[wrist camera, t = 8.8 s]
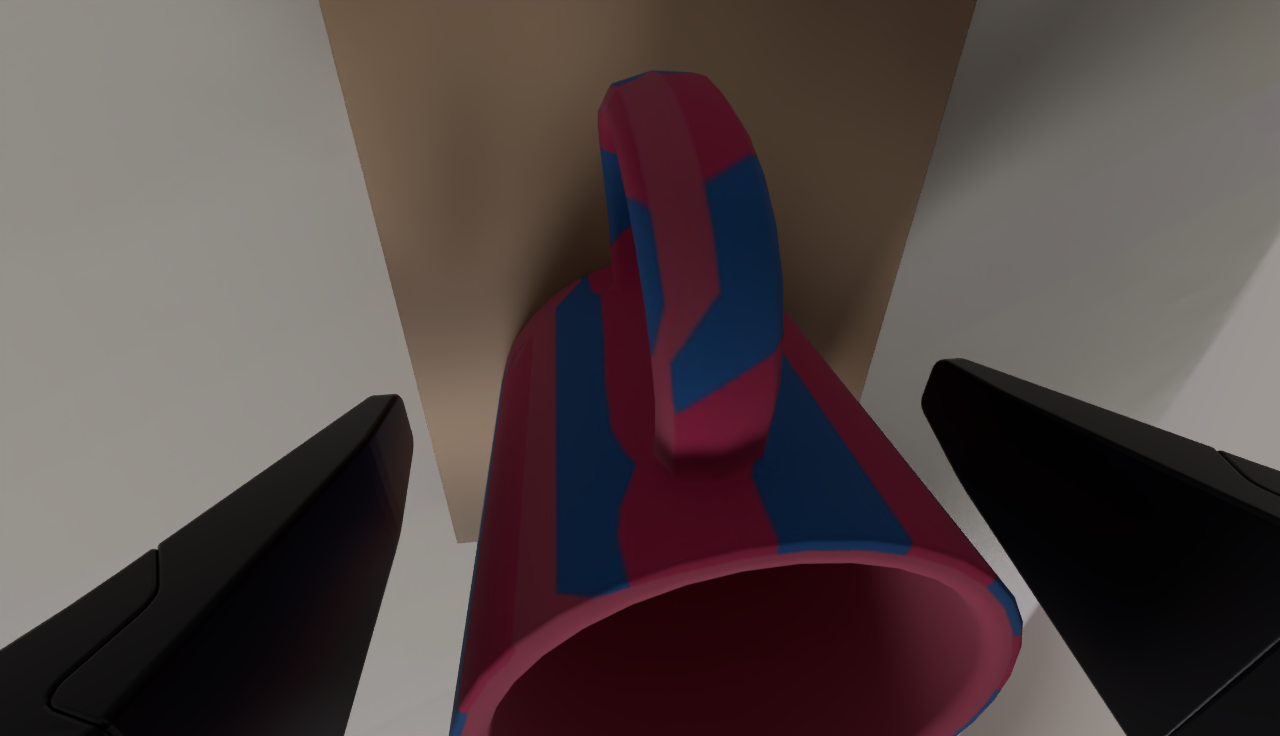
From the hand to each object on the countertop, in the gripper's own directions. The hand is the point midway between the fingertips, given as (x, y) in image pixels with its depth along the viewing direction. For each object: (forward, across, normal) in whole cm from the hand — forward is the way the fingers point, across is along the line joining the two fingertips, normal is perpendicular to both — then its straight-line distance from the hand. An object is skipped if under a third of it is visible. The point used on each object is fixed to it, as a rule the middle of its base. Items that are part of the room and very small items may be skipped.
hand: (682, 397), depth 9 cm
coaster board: (+4, 0, 0) cm, 4 cm away
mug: (+3, 0, 0) cm, 3 cm away
